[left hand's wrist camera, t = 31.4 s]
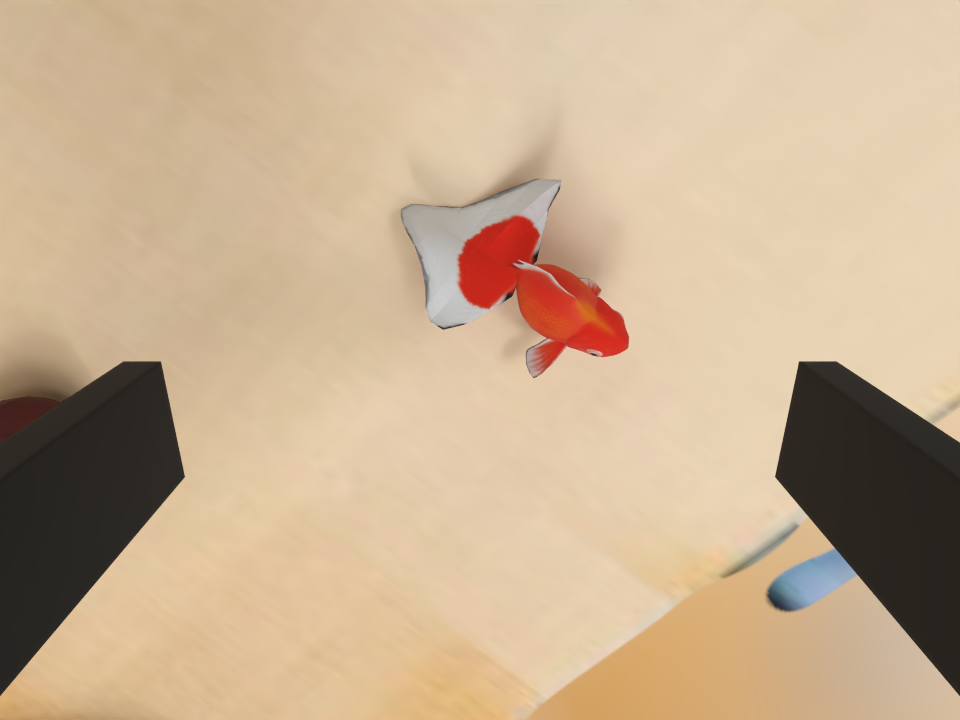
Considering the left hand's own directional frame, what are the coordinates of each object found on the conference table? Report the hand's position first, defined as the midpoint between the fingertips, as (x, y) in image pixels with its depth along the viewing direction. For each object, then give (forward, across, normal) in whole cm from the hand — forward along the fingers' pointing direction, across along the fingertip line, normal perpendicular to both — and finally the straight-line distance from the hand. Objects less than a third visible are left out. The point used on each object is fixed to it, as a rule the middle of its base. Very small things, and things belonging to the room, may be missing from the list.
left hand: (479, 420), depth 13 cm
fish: (+29, +2, -3) cm, 29 cm away
